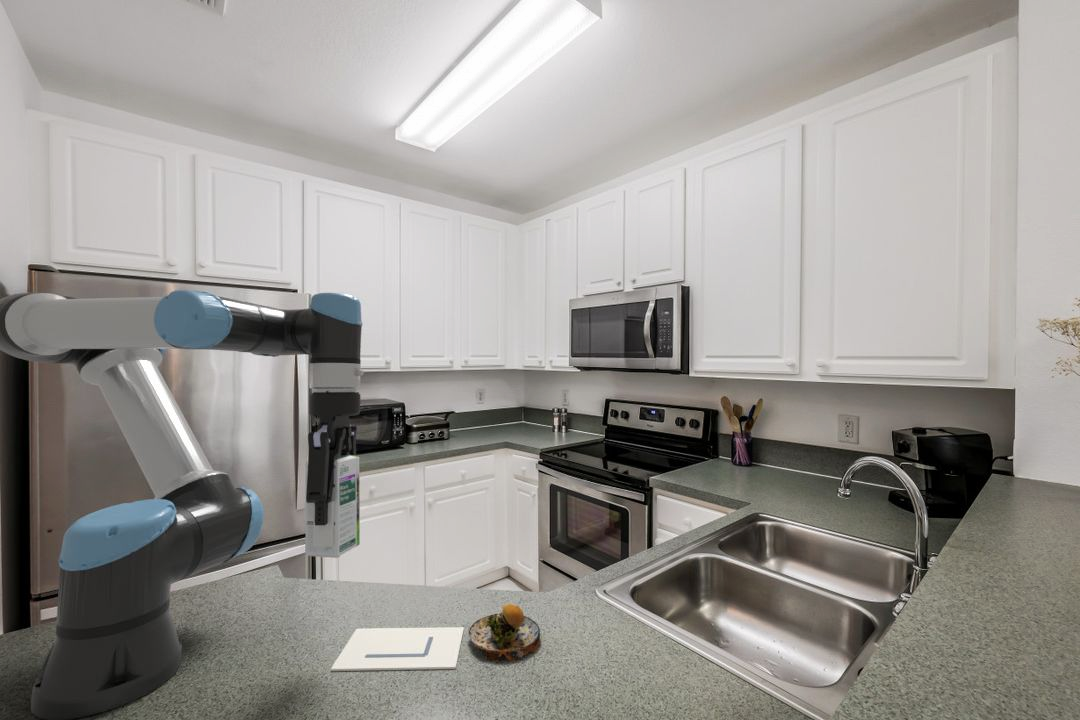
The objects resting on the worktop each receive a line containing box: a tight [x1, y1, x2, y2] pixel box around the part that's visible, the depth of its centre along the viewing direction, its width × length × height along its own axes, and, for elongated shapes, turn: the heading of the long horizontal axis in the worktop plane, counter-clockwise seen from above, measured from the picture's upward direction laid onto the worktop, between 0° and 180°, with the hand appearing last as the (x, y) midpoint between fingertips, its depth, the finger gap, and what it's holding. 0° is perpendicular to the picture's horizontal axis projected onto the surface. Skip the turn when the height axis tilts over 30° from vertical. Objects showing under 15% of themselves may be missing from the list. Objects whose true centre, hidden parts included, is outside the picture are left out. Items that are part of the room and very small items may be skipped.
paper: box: [330, 626, 465, 672], centre depth 72 cm, size 18×11×1 cm, turn 93°
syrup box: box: [304, 455, 361, 559], centre depth 72 cm, size 6×6×14 cm
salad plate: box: [468, 596, 541, 662], centre depth 75 cm, size 12×12×8 cm
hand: (332, 537), depth 72 cm, fingers closed on syrup box, 6 cm apart
